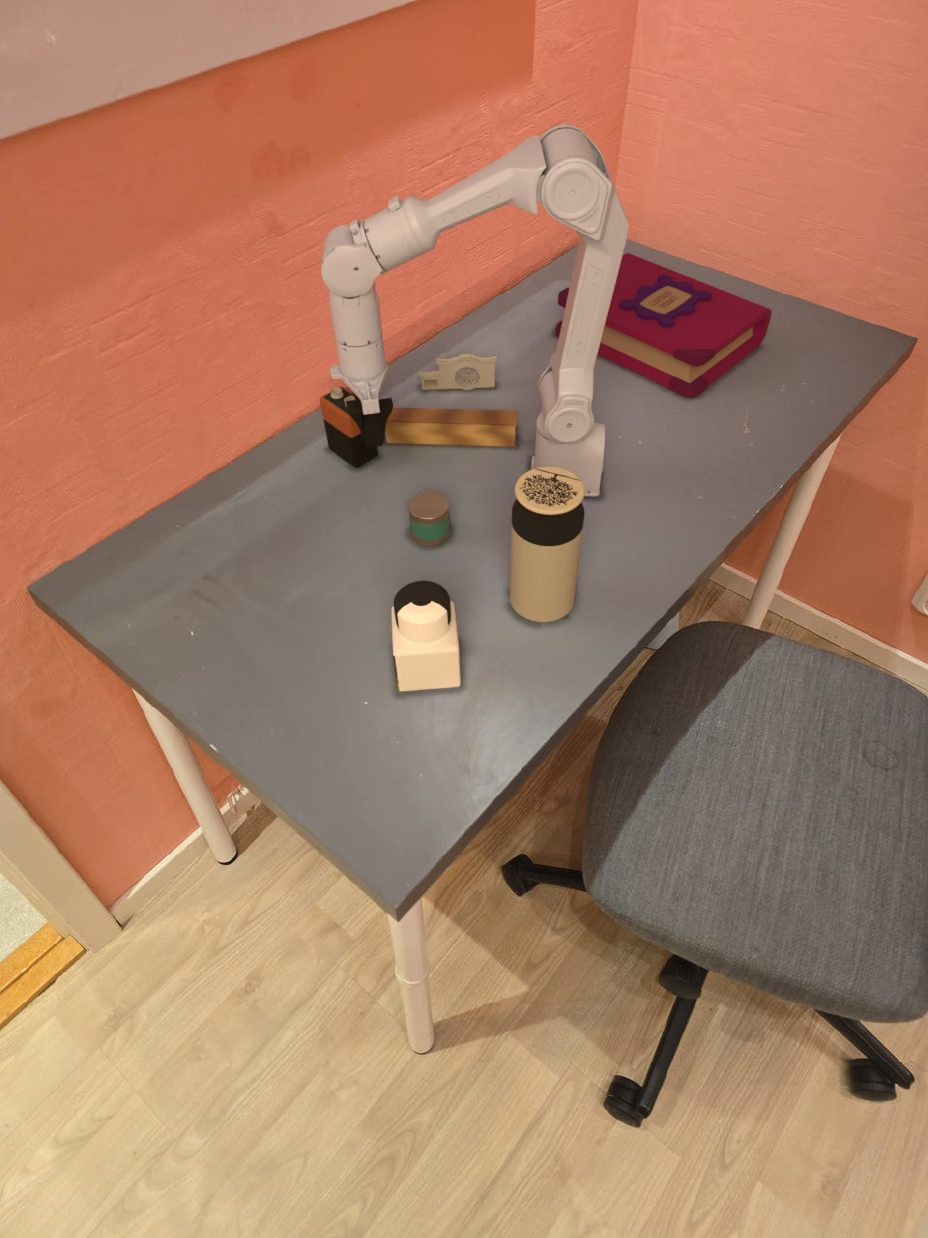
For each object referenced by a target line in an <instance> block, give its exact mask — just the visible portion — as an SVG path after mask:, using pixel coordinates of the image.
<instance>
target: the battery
mask: <svg viewBox="0 0 928 1238" xmlns="http://www.w3.org/2000/svg"><path fill="white" fill-rule="evenodd" d="M350 400H355V398H354V395H353V392H352V390H350V389H348V388H347V387H345V386H342V385H341V386H339V387H333V388H332V389H330V391H329V392H328V393H326V394H324V395H322V396H321V397H320V398H319V404H320V409H321V415H322V420H323V425H324V426H323V427H324V430H325V431H324V432H325V436H326V441H327V447H328V449H329V450H330V451H331V452H332V453H334V454H335V455H337V456H338V457H339V458H341V459H342V460H343V461H345V462H346V463H348V464H349V465H350V466H352V467H353V468H355V469H359V468H360V467H362V466H363V465H365V464H367V463H368V462H371V461H372V460H374V459H375V458H377V457H378V454H379V453H378V446H377V447H370V448H368V447H367V446H366V444H365V442H364V440H363V437H362V434H361V432H360V429H359V427H358V425H357V424H356V422H355V421H354V420H353V419H352V418H351V417H350V415H349V414H348V411H347V406H346V401H350Z"/></svg>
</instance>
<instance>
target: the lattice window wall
mask: <svg viewBox="0 0 928 1238" xmlns="http://www.w3.org/2000/svg"><path fill="white" fill-rule="evenodd" d="M497 357H498V356H497V355H495V354H494V355H492V356H491V355H489V356H484V355H479V354H477V353H472V352H465V353H461V354H460V353H458V354H456V355H454V356H451V357H449V358H448V357H447V358H446V357H442V358H441V357H437V358H436V365H437V366H438V369H432V370H431V369H430V370H426V369H425V370H424V369H420V371H419V373H418V374H419V378H421V379H420V380H421V390H422V391H430V390H431V391H433V390H459V389H461V390H463V391H464V390H465V391H471V390H474V389H485V388H487V389H488V388H489V389H490V388H495V385H496V384H495V377H496V376H495V375H496V374H495V373H496V370H495V369H496V365H495V364H496V363H498V358H497Z"/></svg>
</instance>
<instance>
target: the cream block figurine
mask: <svg viewBox="0 0 928 1238" xmlns="http://www.w3.org/2000/svg"><path fill="white" fill-rule="evenodd" d="M393 598H394V599H393V606H392V607H391V609H390V611H391V613H390V614H391V635H392V636H391V637H392V638H391V639H392V657H393V664H394V670H395V671H394V672H395V678H396V684H397V690H398V691H399V692H413V691H414V692H415V691H425V690H427V691H428V690H436V689H437V690H438V689H450V688H451V689H452V688H459V687H460V686H461V684H462V683H461V682H462V679H461V659H460V645H459V643H460V642H459V635H458V624H457V614H456V606H455V605H456V604H455V602H454V601H452V600H451V596H450V594H449V592H448V590H446V588H445V587H443V585H441V584H438V583H437V582H434V581H431V580H415V581H411V582H409V583H407V584H406V585H404V586H403V587H401V588H400V589H399V590H398V591H397V593H396V594H395V596H394V597H393Z"/></svg>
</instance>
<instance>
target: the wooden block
mask: <svg viewBox="0 0 928 1238" xmlns="http://www.w3.org/2000/svg"><path fill="white" fill-rule="evenodd" d="M518 413H519V411H518V410H504V409H503V410H500V409H467V408H466V409H465V408H433V407H430V408H429V407H428V408H427V407H426V408H425V407H397V406H396V407H395V406H393V410H392V412H391V414H390V415H389V417H388V420H387V423H386V428H385V441H386V444H408V445H409V444H410V445H413V444H414V445H437V446H438V445H440V446H442V445H443V446H471V447H472V446H475V447H507V448H509V447H510V448H515V447H516V438H517V436H516V435H517V426H518Z"/></svg>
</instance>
